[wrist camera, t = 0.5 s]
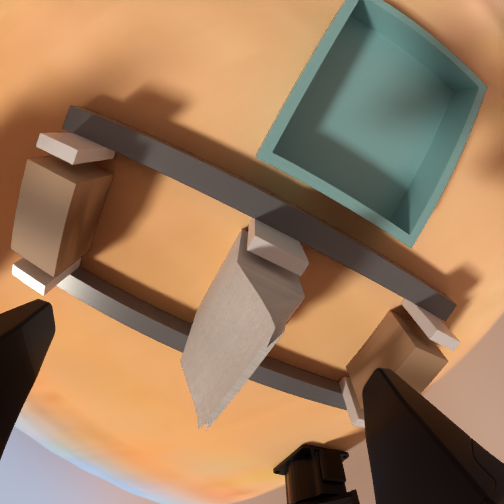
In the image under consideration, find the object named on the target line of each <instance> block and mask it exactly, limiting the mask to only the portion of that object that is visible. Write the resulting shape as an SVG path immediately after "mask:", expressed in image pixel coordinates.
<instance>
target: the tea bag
mask: <svg viewBox="0 0 504 504" xmlns="http://www.w3.org/2000/svg"><path fill="white" fill-rule="evenodd" d="M247 242H248V232H247V231H245V230H243V229H242V230H241V232H240V233H239V235H238V237H237V239H236V240H235V242H234V244H233V246H232V248H231V249H230V251H229V253H228V255H227V257H226V258H225V260H224V262H223V264H222V266H221V267H220V269H219V271H218V273H217V275H216V276H215V278H214V280H213V282H212V284H211V285H210V287H209V289H208V291H207V293H206V294H205V296H204V298H203V300H202V302H201V304H200V305H199V307H198V309H197V312H196V315H195V318H194V321H193V324H192V327H191V330H190V333H189V336H188V339H187V342H186V345H185V348H184V352H183V355H182V358H181V361H180V362H181V365H182V368H183V371H184V374H185V377H186V381H187V384H188V387H189V390H190V392H191V395H192V398H193V402H194V406H195V410H196V413H197V419H198V429H199V428H200V427H202V426H203V425H204V424H206V423H207V422H208V424H207V427H206V430H207V429H208V428H209V427H210V425H211V424H212V423H213V422H214V421H215V419H216V418H217V417H218V416H219V415H220V413H221V412H222V411H223V410H224V409H225V407H226V406H227V405H228V404H229V403H230V401H231V400H232V399H233V398H234V396H235V395H236V394H237V393H238V391H239V390H240V389H241V388H242V386H243V385H244V384H245V383H246V381H247V380H248V379H249V378H250V376H251V375H252V374H253V372H254V371H255V370H256V369H257V367H258V366H259V365H260V363H261V362H262V361H263V359H264V358H265V357H266V355H267V354H268V353H269V351H270V350H271V349H272V347H273V346H274V345H275V343H276V342H277V341H278V339H279V338H280V337H281V335H282V334H283V333H284V330H285V325H286V324H287V323H288V321H289V320H290V318H291V317H292V316H293V314H294V313H295V311H296V310H297V308H298V307H299V306H300V304H301V303H302V301H303V300H304V298H305V294H304V291H303V288H302V285H301V282H300V279H299V276H298V275H297V274H295V273H293V272H291V271H289V270H287V269H285V268H283V267H281V266H279V265H277V264H275V263H272V262H270V261H268V260H266V259H264V258H262V257H260V256H258V255H256V254H254V253H252V252H250V251H248V250H247Z"/></svg>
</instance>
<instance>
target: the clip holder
mask: <svg viewBox="0 0 504 504" xmlns="http://www.w3.org/2000/svg"><path fill="white" fill-rule="evenodd" d="M62 128H63V129H65V130H68V131H70V132H72V133H40V135H39V138H38V141H37V144H36V147H38V148H40V149H42V150H44V151H46V152H48V153H50V154H52V155H54V156H56V157H58V158H60V159H62V160H64V161H66V162H68V163H70V164H72V165H74V164H80V163H87V162H94V161H101V160H108V159H113V158H114V155H115V153H116V152H117V153H119V154H121V155H124V156H126V157H128V158H130V159H132V160H134V161H137V162H139V163H141V164H143V165H145V166H147V167H149V168H152V169H154V170H156V171H158V172H160V173H162V174H164V175H166V176H169V177H171V178H173V179H175V180H177V181H179V182H181V183H183V184H185V185H187V186H189V187H192V188H194V189H196V190H198V191H200V192H202V193H204V194H206V195H208V196H210V197H212V198H214V199H216V200H218V201H220V202H222V203H224V204H226V205H228V206H230V207H232V208H234V209H236V210H238V211H240V212H242V213H244V214H246V215H248V216H250V217H252V219H251V221H250V223H249V228H248V242H247V250H248V251H250V252H252V253H254V254H256V255H258V256H260V257H262V258H264V259H266V260H268V261H270V262H272V263H275V264H277V265H279V266H281V267H283V268H285V269H287V270H289V271H291V272H293V273H295V274H297V275H299V276H302V274H303V273H304V271H305V270H306V268H307V266H308V265H309V261H308V259H307V257H306V254H305V252H304V250H303V248H302V246H301V243H303V244H305V245H307V246H309V247H311V248H313V249H315V250H317V251H318V252H320V253H322V254H324V255H326V256H328V257H330V258H332V259H334V260H335V261H337V262H339V263H341V264H343V265H345V266H347V267H349V268H350V269H352V270H354V271H356V272H358V273H360V274H361V275H363V276H365V277H367V278H369V279H371V280H373V281H374V282H376V283H378V284H380V285H382V286H383V287H385V288H387V289H389V290H391V291H392V292H394V293H396V294H398V295H400V296H401V297H403V298H404V299H403V301H402V302H401V304H402V305H403V307H404V308H405V309H406V310H407V312H408V313H409V314H410V315H411V316H412V318H413V319H414V320H415V321H416V323H417V324H418V325H419V326H420V328H421V329H422V330H423V331H424V333H425V334H426V335H427V337H428V338H429V339H430V340H432V341H434V342H436V343H438V344H440V345H442V346H444V347H446V348H448V349H450V350H452V351H454V350H455V348H456V347H457V346H458V345H459V343H460V341H459V340H458V339H457V338H456V336H455V335H454V334H453V333H452V332H451V331H450V330H449V329H448V327H447V326H446V325H445V324H444V323H443V322H442V321H441V320H440V319H442V320H444V321H446V320H447V318H448V317H449V315H450V314H451V313H452V311H453V310H454V308H455V307H456V304H455V303H454V302H453V301H452V300H451V299H450V298H449V297H447V296H446V295H444V294H443V293H441V292H440V291H438V290H437V289H435V288H434V287H432V286H431V285H429V284H428V283H426V282H424V281H423V280H421V279H420V278H418V277H417V276H415V275H413V274H412V273H410V272H409V271H407V270H405V269H404V268H402V267H401V266H399V265H397V264H396V263H394V262H392V261H391V260H389V259H388V258H386V257H384V256H383V255H381V254H379V253H378V252H376V251H374V250H373V249H371V248H369V247H368V246H366V245H364V244H362V243H361V242H359V241H357V240H356V239H354V238H352V237H350V236H349V235H347V234H345V233H343V232H342V231H340V230H338V229H336V228H335V227H333V226H331V225H329V224H328V223H326V222H324V221H322V220H320V219H319V218H317V217H315V216H313V215H311V214H309V213H308V212H306V211H304V210H302V209H300V208H298V207H297V206H295V205H293V204H291V203H289V202H287V201H285V200H283V199H282V198H280V197H278V196H276V195H274V194H272V193H270V192H268V191H266V190H264V189H262V188H260V187H258V186H256V185H255V184H253V183H251V182H249V181H247V180H245V179H243V178H241V177H239V176H237V175H235V174H233V173H231V172H229V171H226V170H224V169H222V168H220V167H218V166H216V165H214V164H212V163H210V162H208V161H206V160H204V159H202V158H199V157H197V156H195V155H193V154H191V153H189V152H187V151H184V150H182V149H180V148H178V147H176V146H173V145H171V144H169V143H167V142H165V141H162V140H160V139H158V138H156V137H153V136H151V135H149V134H146V133H144V132H142V131H139V130H137V129H135V128H132V127H130V126H128V125H125V124H123V123H121V122H118V121H116V120H113V119H111V118H108V117H106V116H103V115H101V114H98V113H96V112H93V111H91V110H88V109H86V108H83V107H78V106H72V105H71V106H70V109H69V111H68V114H67V116H66V119H65V121H64V124H63V127H62ZM300 242H301V243H300ZM80 262H81V257H80V258H79V259H77V260H76V261H75V262H73V263H72V264H71V265H69V266H68V267H67V268H65V269H64V270H63V271H61V272H60V273H59V274H57V275H56V276H55V277H53V276H51V275H49V274H48V273H46V272H45V271H43V270H42V269H40V268H39V267H37V266H36V265H34V264H33V263H31V262H30V261H28V260H27V259H25V258H22V259H20V260H19V261H17V262H16V263H14V264H13V269H12V274H13V275H14V276H15V277H17V278H18V279H20V280H21V281H22V282H24V283H25V284H27V285H28V286H30V287H31V288H32V289H34V290H35V291H37V292H38V293H40V294H41V295H43V296H44V295H45V294H47V293H48V292H49V291H50V290H51V289H52V288H54V287H55V286H58V287H59V288H61V289H63V290H64V291H66V292H67V293H69V294H71V295H72V296H74V297H76V298H78V299H79V300H81V301H83V302H84V303H86V304H88V305H90V306H91V307H93V308H95V309H97V310H98V311H100V312H102V313H104V314H106V315H107V316H109V317H111V318H113V319H115V320H117V321H119V322H121V323H122V324H124V325H126V326H128V327H130V328H132V329H134V330H136V331H138V332H140V333H142V334H144V335H146V336H148V337H150V338H152V339H154V340H156V341H159V342H161V343H163V344H165V345H167V346H169V347H171V348H174V349H176V350H178V351H180V352H182V353H183V352H184V348H185V345H186V342H187V339H188V336H189V333H190V330H191V327H192V325H191V324H189V323H187V322H185V321H183V320H180V319H178V318H176V317H174V316H172V315H170V314H168V313H166V312H164V311H162V310H160V309H158V308H156V307H154V306H152V305H150V304H148V303H146V302H144V301H142V300H140V299H138V298H136V297H134V296H132V295H130V294H128V293H126V292H124V291H122V290H120V289H119V288H117V287H115V286H113V285H111V284H109V283H107V282H106V281H104V280H102V279H100V278H98V277H97V276H95V275H93V274H91V273H89V272H88V271H86V270H84V269H82V268H81V267H79V266H80ZM439 318H440V319H439ZM249 380H252V381H254V382H257V383H260V384H263V385H266V386H269V387H271V388H274V389H277V390H280V391H283V392H286V393H289V394H293V395H296V396H299V397H302V398H305V399H309V400H312V401H315V402H319V403H322V404H326V405H329V406H333V407H337V408H340V409H344V410H348V414H349V417H350V420H351V424H352V425H354V426H358V427H363V428H365V422H364V410H363V409H361V408H360V405H359V402H358V399H357V396H356V393H355V391H354V388H353V385H352V382H351V379H350V378H349V377H346V376H344V377H343V378H342V379H341V380H340V381H339V382H336V381H333V380H330V379H327V378H324V377H321V376H319V375H316V374H313V373H310V372H307V371H304V370H301V369H299V368H296V367H293V366H290V365H288V364H285V363H282V362H280V361H277V360H275V359H272V358H269V357H267V356H266V357H265V358H264V359H263V361H262V362H261V363H260V365H259V366H258V367H257V369H256V370H255V371H254V372H253V374H252V375H251V376H250V378H249Z"/></svg>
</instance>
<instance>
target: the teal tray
mask: <svg viewBox="0 0 504 504" xmlns="http://www.w3.org/2000/svg"><path fill="white" fill-rule="evenodd" d="M486 89H487V86H486V85H485V84H484V83H483V82H482V81H481V80H480V79H479V78H478V77H477V76H476V75H475V74H474V73H473V72H472V71H471V70H470V69H469V68H468V67H467V66H466V65H465V64H464V63H463V62H462V61H461V60H460V59H459V58H458V57H457V56H455V55H454V54H453V53H452V52H451V51H450V50H449V49H448V48H446V47H445V46H444V45H443V44H442V43H441V42H439V41H438V40H437V39H436V38H435V37H433V36H432V35H431V34H430V33H428V32H427V31H426V30H424V29H423V28H422V27H421V26H419V25H418V24H417V23H415V22H414V21H413V20H411V19H410V18H408V17H407V16H406V15H404V14H403V13H401V12H400V11H398V10H397V9H395V8H394V7H392V6H391V5H389V4H388V3H386V2H385V1H383V0H345V1H344V3H343V4H342V6H341V7H340V9H339V11H338V12H337V14H336V15H335V17H334V19H333V20H332V22H331V24H330V25H329V27H328V29H327V30H326V32H325V34H324V35H323V37H322V39H321V40H320V42H319V44H318V45H317V47H316V49H315V50H314V52H313V54H312V55H311V57H310V59H309V61H308V62H307V64H306V66H305V67H304V69H303V71H302V73H301V74H300V76H299V78H298V80H297V81H296V83H295V85H294V87H293V88H292V90H291V92H290V94H289V95H288V97H287V99H286V101H285V103H284V104H283V106H282V108H281V110H280V112H279V113H278V115H277V117H276V119H275V121H274V123H273V124H272V126H271V128H270V130H269V132H268V134H267V135H266V137H265V139H264V141H263V143H262V145H261V147H260V148H259V150H258V152H257V154H256V158H258V159H260V160H262V161H264V162H266V163H268V164H270V165H271V166H273V167H275V168H277V169H279V170H281V171H283V172H285V173H287V174H288V175H290V176H292V177H294V178H296V179H298V180H299V181H301V182H303V183H305V184H307V185H309V186H310V187H312V188H314V189H316V190H317V191H319V192H321V193H323V194H324V195H326V196H328V197H330V198H331V199H333V200H335V201H336V202H338V203H340V204H342V205H343V206H345V207H347V208H348V209H350V210H352V211H353V212H355V213H357V214H358V215H360V216H361V217H363V218H365V219H366V220H368V221H370V222H371V223H373V224H374V225H376V226H378V227H379V228H381V229H382V230H384V231H385V232H387V233H388V234H390V235H392V236H393V237H395V238H396V239H398V240H399V241H401V242H402V243H404V244H405V245H407V246H408V247H410V248H412V247H413V245H414V243H415V242H416V240H417V238H418V237H419V235H420V233H421V231H422V230H423V228H424V226H425V224H426V223H427V221H428V219H429V217H430V215H431V213H432V212H433V210H434V208H435V206H436V204H437V202H438V200H439V198H440V196H441V195H442V193H443V191H444V189H445V187H446V185H447V183H448V181H449V179H450V176H451V174H452V172H453V170H454V168H455V166H456V164H457V162H458V159H459V157H460V155H461V153H462V150H463V148H464V146H465V144H466V141H467V139H468V137H469V134H470V132H471V129H472V127H473V124H474V122H475V119H476V117H477V114H478V111H479V109H480V106H481V103H482V100H483V97H484V95H485V92H486Z"/></svg>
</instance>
